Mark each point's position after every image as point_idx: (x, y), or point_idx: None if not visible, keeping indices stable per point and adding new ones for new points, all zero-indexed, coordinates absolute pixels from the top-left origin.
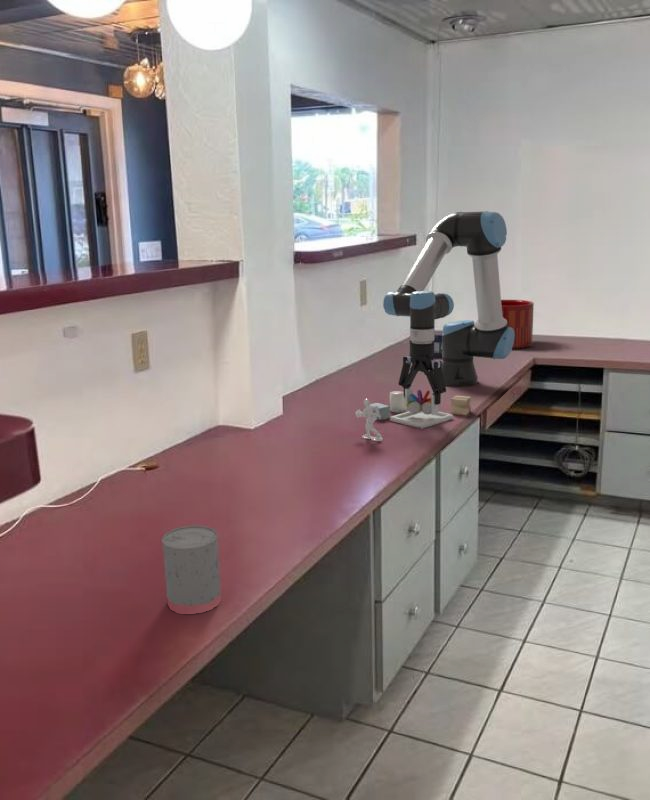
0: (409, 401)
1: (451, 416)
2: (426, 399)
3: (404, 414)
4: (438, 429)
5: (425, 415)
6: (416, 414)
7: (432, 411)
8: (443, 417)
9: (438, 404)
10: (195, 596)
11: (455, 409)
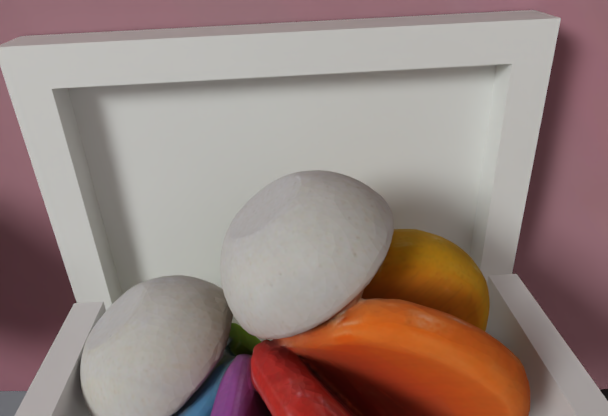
0: (89, 413)
1: (546, 45)
2: (283, 334)
3: None
4: (582, 347)
5: (241, 177)
6: (145, 216)
7: None
8: (525, 194)
9: (572, 361)
10: None
11: None
